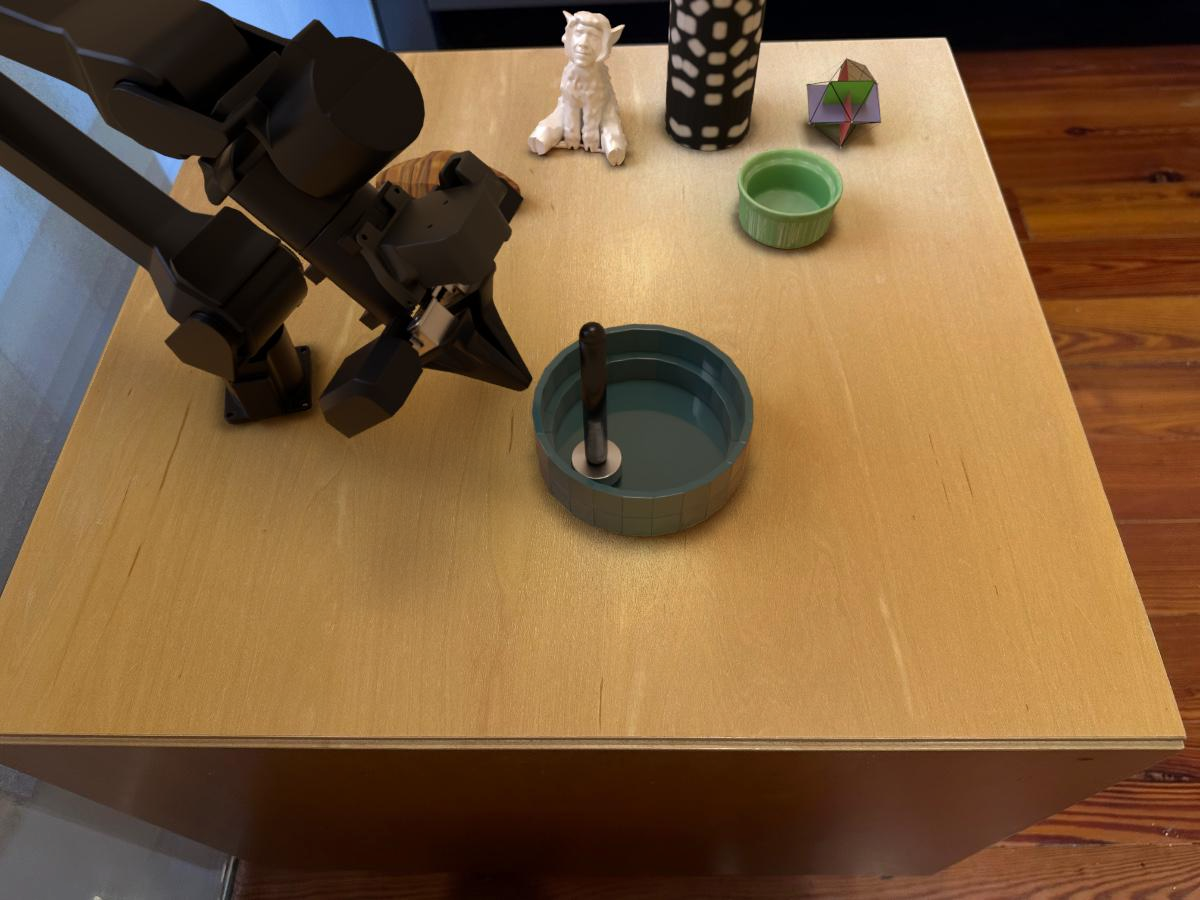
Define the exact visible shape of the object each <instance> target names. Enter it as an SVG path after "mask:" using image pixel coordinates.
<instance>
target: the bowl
mask: <svg viewBox="0 0 1200 900" xmlns="http://www.w3.org/2000/svg"><path fill="white" fill-rule="evenodd" d="M604 329H605V332H606V369H607V432H608V440H610V441H612V442H614V443H615V444H616V445H617V446H618V447H619V449H620V451H621V454H622V473H621V475H620V477H619V479H618V480H617V481H616V482H615V483H614V484H613V485H611V486H607V485H604V484H600V483H597V482H595V481H593V480H591V479H589V478H588V477H586V476H584V475H582V474H580V473H579V472H577V471H575V470H573V469H572V468H571V454H572V452H573V450H574V448H575V447H576V446H577V445H578V444H579V443H580V442H581V441H583V440H584V427H583V408H582V388H581V369H580V350H579V338H578V339H577V340H575V341H574V342H572V343H571V344H569V345H568V346H565V348H563V349H561V350H560V351H559V352H558V353H557V354H556V356H554V357H553V359H552V360H551V361H550V362H549V363H548V365H546V366H545V368H544V369H543V371H542V373H541V375H540V378H539V379H538V382H537V384H536V386H535V388H534V391H533V398H532V405H531V406H532V407H531V419H532V428H533V435H534V442H535V451H536V458H537V462H538V467H539V472H540V476H541V477H542V479H543V481H544V483H545V485H546V487H547V489H548V490H549V492H550V494H551V496H552V497H553V498H554V499H555V500H556V501H557V502H558V503H559V504H560V505H561V506H562V507H563V508H564V509H565V510H566V511H567V512H568V513H569V514H571V516H574V517H576V518H577V519H579V520H581V521H583V522H584V523H586V524H588V525H590V526H591V527H594V528H595V529H598V530H602V531H606V532H609V533H613V534H617V535H620V536H629V537H649V538H650V537H657V536H663V535H669V534H674V533H679V532H682V531H684V530H686V529H689V528H690V527H691V528H692V527H693V526H695V525H698V524H700V523H702V522H705V521H706V520H708V519H709V518H710V517H711V516H712V515H714V514H715V513H716V512H717V511H719V510H720V509H722V507H723V506H725V505H726V503H727V502H728V501H729V499H730V498H731V496H732V495H733V493H734V492H735V490H736V489H737V487H738V486H739V485H740V483H741V479H742V476H743V473H744V469H745V466H746V463H747V457H748V453H749V448H750V443H751V438H752V433H753V428H754V423H755V422H754V421H755V415H754V399H753V398H754V397H753V395H752V393H751V389H750V387H749V384H748V382H747V379H746V377H745V375H744V373H743V372H742V371H741V370H740V368H739V367H738V366H737V364H736V363H735V361H734V360H733V359H732V358H731V357H730V356H729V355H727V354H726V353H725V351H722V349H720V348H719V347H717V346H716V345H715V344H713V343H712V342H711V341H709V340H707V339H705V338H703V337H701V336H699V335H696V334H695V333H692V332H690V331H688V330H685V329H680V328H676V327H672V326H667V325H663V324H654V323H652V324H651V323H628V324H621V325H616V326H609V327H604Z"/></svg>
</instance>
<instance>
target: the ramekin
mask: <svg viewBox="0 0 1200 900" xmlns="http://www.w3.org/2000/svg"><path fill="white" fill-rule="evenodd" d="M737 189H738V192H739V193H738V219H739V222H740V223H739V224H740V225H741V227H742V229H743V230H744V232H745V233H746V234H747V235H748V236H750V237H751V238H752V239H754V241H757V242H758V243H760V244H763V245H764V246H768V247H772V248H776V249H784V250H785V249H787V250H789V249H792V250H793V249H799V248H804V247H807V246H809V245H812V244H814V243H815V242H817V241H819V240H820V239H821V238H822V237H823V236H824V235H825V234H826V232H827V231H828V229H829V227H830V224H831V223H832V222H831V221H832V218H833V217H834V216H833V215H834V212H835V210H836V207H837V205H838V204H839V202H840V200H841V198H842V195H843V192H844V181H843V177H842V175H841V173H840V171H839V170H838V168H837V167H836V165H834V164H833V163H832V162H831V161H830V160H828V159H827V158H826V157H823V156H822V155H820V154H818V153H815V152H813V151H810V150H805V149H802V148H793V147H778V148H771V149H768V150H764V151H761V152H758V153H756V154H754V155H753V156H751V157H750V158H748V159H747V160H746V161H745V162H744V163H743V164H742V165H741V167H740V168H739V171H738V173H737Z"/></svg>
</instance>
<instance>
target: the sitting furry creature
mask: <svg viewBox="0 0 1200 900" xmlns="http://www.w3.org/2000/svg"><path fill="white" fill-rule="evenodd" d="M562 13H563V15H564V17H565V19H566V22H567V24H566V26H565V27H564V30H565V33H564V34H563V35H562V36H561V42H562V43H563V44H564V55H565V57H567V59H568V62H567V64H566V66H564V67H563V72H562V74H561V78H560V80H561V82H560V85H559V93H560V94H561V95H560V96H558V99H557V106H556V107H555V108H554V110H553V111H552V113H550V114H548V116H547V117H545V118H544V119H541V120H540V121H539V122H537V123H538V124H537V125H536V127H535V129H534V130H533V131H532V132H531V133H530V135H529V136H528V137H527V145H528V147H529V149H530V150H531V151H532V152H533V153H537V155H538V156H541V155H545V154H547V153H548V152H549V151H550V150H551V149H553V148H555V149H568V150H571V148H572V147H573V150H574V151H576V150H578V149H579V148H584V150H585V151H586V152H588V151H589V150H590V153H602V154H605V156H606V158H607V160H608V162H609V164H610V165H611V166H612V167H615V166H616V165H617V166H620V165H621V164H622V163H623V161H624V160H625V158H626V154H627V153H626V149H627V148H628V141H627V140H626V135H625V133H624V129H623V127H622V119H621V117H620V115H621V110H620V109H621V108H620V105H619V103H618V99H617V94H616V92H615V90H614V86H613V84H612V83H611V80H612V77H611V75H610V73H609V69H610V68H609V66H608V65H606V64H605V61H606V60H608V59H610V54H612V50H613V49H612V48H613V45H615V44H616V43H617V42H618V41H619V39H620V37H621V35H622V32H623V30H624V29H625V26H626V24H620V25H617V26H616V27H613V28H612V25H611V24H610V20H609V19H608V18H607V17H606V16H605V15H604V14H602V13H595V12H594V13H593V12H590V11H585V10H582V11H577V12H575V13H574V14H571V13H570V12H568V11H566V10H562ZM581 134H582V135H581ZM581 140H582V141H583V143H581Z"/></svg>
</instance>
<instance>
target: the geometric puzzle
mask: <svg viewBox="0 0 1200 900" xmlns="http://www.w3.org/2000/svg"><path fill="white" fill-rule="evenodd" d="M840 63H842V64H841V65H840V67H839V68H838V69H837V70H836V72H835V73H834V75H832V77H831V78H830V79H829V80H827V81H820V82H815V83H814V82H812V83H806V93H807V95H806V96H807V110H808V124H809V125H811V126H812V127H815V129H816V130H818V131H819V132H820V133H822V134H823V135H824V136H825V137H827V138H828V139H830V140H831V141H832V142H833V143H834V144H835V145H836V146H838V147H839V149H842V147H844V146H846V145H847V144H849V143H850V142H852V141H854V140H855V139H857V138H858V137H860V136H862V135H863V133H862V134H860V135H858V136H856V137H855V138H853V139H852V140H850V141H848V142H847V143H846V141H847V140H848V138H849V137H850V135H851V134H852V133H853V131H854V129H855V128H856V126H858V124H860V125H869V124H876V125H874V126H873V127H871V128H869V129H868V130H866V131H865V133H866V132H868V131H869V130H870V131H871V130H872V129H873V128H875V127H876V126H878V125H880V124H882V123H883V121H882V117H881V116H882V115H881V106H880V95H879V82H877V79H876V78H874V76H873V74H872V73H871V71H870V70H869V68H868V67H867V65H865V64H863V63H860V62H858V61H855V60H852V59H850V58H848V57H845V59H844V60H842V61H840V62H839V63H838V64H836V65H834V66H833V67H832V68H830V69H828V70H827V71H825V72H824V73H822V74H821V75H820V76H818V78H820V77H821V76H822V75H824V74H826V73H827V72H828V71H830V70H831V69H832V70H833V68H835V67H836V66H837V65H839V64H840ZM838 72H839V74H838ZM837 74H838V77H837V80H833V79H834V77H835V76H836V75H837ZM826 83H827V84H826ZM852 125H854V126H853V127H852V129H851V126H852ZM818 126H839V127H838V128H839V141H840V142H839V143H840V145H839V143H838V142H836V141H835V140H833V139H832V138H831V137H830V136H828V134H826V132H824V131H823V130H822V129H821V128H819V127H818ZM850 129H851V131H850ZM849 131H850V132H849ZM848 133H849V134H848ZM845 143H846V144H845Z"/></svg>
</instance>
